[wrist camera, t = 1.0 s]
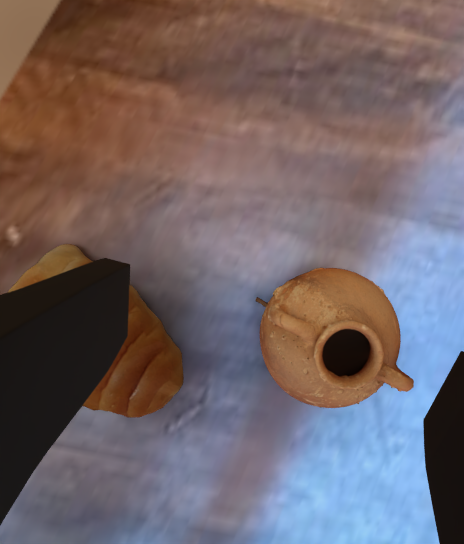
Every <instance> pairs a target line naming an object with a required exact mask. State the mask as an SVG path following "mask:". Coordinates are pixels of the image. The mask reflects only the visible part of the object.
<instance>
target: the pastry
mask: <svg viewBox="0 0 464 544" xmlns="http://www.w3.org/2000/svg"><path fill="white" fill-rule="evenodd" d="M90 262H93V261H92V260H90V259H89V258H87V257H86V256H85V255H84V254H83V253H82V252H81V251H80V249H79V248H78V247H76V246H75V245H71V244H64V245H60V246H58V247H56V248H55V249H53V250H51V251H50V252H48V253H47V254H45V255H44V256H43V257H42V258H41V259H40V261H39V262H38V263H37V264H36V265H35V266H33V267H31V268H30V269H29V270H28V271H26V272H25V273H24V274H23V275H22V277H21V278H20V279H19V280H18V281H17V282H16V283H15V284H14V286H13V287H12V288H11V289H10V290H9V292H11V291H14V290H17V289H20V288H23V287H26V286H28V285H31V284H34V283H36V282H39V281H42V280H44V279H47V278H50V277H53V276H55V275H58V274H61V273H63V272H66V271H68V270H71V269H74V268H77V267H79V266H82V265H85V264H88V263H90ZM182 384H183V367H182V353H181V351H180V349H179V348H178V347H177V346H176V345H175V344H174V342H173V341H172V339H171V338H170V336H169V335H167V333H166V331H165V329H164V327H163V325H162V322H161V320H160V319H158V318H157V316H156V315H155V314H154V313H153V312H152V311H151V310H150V309H149V308H148V307H147V305H146V303H145V302H144V301H143V300H142V299H141V297H140V296H139V294H138V292H137V291H136V290H135V289H134V288H133V287H132V286H131V285H129V311H128V336H127V338H126V340H125V342H124V344H123V345H122V347H121V349H120V351H119V353H118V355H117V356H116V358H115V360H114V362H113V363H112V365H111V367H110V368H109V370H108V372H107V373H106V375H105V376H104V377H103V379H102V380H101V381H100V383H99V384H98V385H97V387H96V388H95V389H94V391H93V392H92V393H91V395H90V396H89V397H88V399H87V400H86V401H85V403H84V404H83V405H82V406H85V407H87V408H89V409H92V410H104V411H110V412H113V413H116V414H121V415H124V416H126V417H142V416H144V415H147V414H150V413H153V412H155V411H157V410H159V409H161V408H163V407H164V406H165V405H166V404H167V403H168V402H169V401H170V400H171V399H172V397H173V396H174V395H175V394H176V393H177V392H178V391H179V390H180V388H181V386H182Z"/></svg>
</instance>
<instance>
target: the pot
mask: <svg viewBox="0 0 464 544" xmlns="http://www.w3.org/2000/svg"><path fill="white" fill-rule="evenodd" d="M256 302H259V303H261V304H262V305H263V306H265V307H266V309H265V311H264V314H263V315H262V320H261V325H260V345H261V350H262V354H263V358H264V361H265V364H266V366H267V368H268V370H269V372H270V374H271V376H272V377H273V379H274V380H275V381H276V382H277V384H278V385H279V386H280V387H281V388H282V389H283V390H284V391H285V392H287V393H288V394H289V395H290V396H292V397H294V398H295V399H297V400H299V401H301V402H304V403H306V404H310V405H313V406H318V407H325V408H339V407H346V406H350V405H353V404H356V403H357V404H359V402H360V401H363V400H364V399H366V398H368V397H369V396H371V395H372V394H373V393H375V392H377V390H378V389H379V388H380V387H381V386H383V383H387V384H389V385H391V388H393V387H394V388H397V389H398V391H406V392H407V391H409V390H411V389H412V388H413V383H414V381H413V379H412V378H410V377H409V376H408V375H406V374H405V373H403V372H402V371H401V370H400V369H399V368H398V367H397V365H396V361H397V358H398V354H399V349H400V342H401V341H400V328H399V323H398V319H397V316H396V313H395V311H394V308H393V306H392V305H391V303H390V301H389V300H388V298H387V297H386V295H385V294H384V291H383V290H382V289H380V287H379V286H377V285H375V284H374V283H373V282H372V281H370V280H368V279H367V278H365V277H363V276H361V275H359V274H357V273H354V272H351V271H348V270H344V269H337V268H326V269H324V268H319V269H317V268H316V269H314V270H312V271H310V272H307V273H304V274H302V275H300V276H297V277H295V278H293V279H291V280H289V281H288V282H286V283H285V284H284V285H283V286H279V288H277V289H276V290H275V291H274V293H273V297H272V298H271V300H270V301H269V302H268V303H266V302H265V301H263V300H262V299H260V298H258V297H257V298H256Z"/></svg>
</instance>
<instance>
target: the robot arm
mask: <svg viewBox="0 0 464 544" xmlns="http://www.w3.org/2000/svg"><path fill="white" fill-rule="evenodd" d="M129 282H130V264H126V263H122V262H118V261H115V260H111V259H107V258H104V259H100V260H97V261H93V262H90V263H88V264H85V265H82V266H79V267H77V268H74V269H71V270H68V271H66V272H63V273H61V274H58V275H55V276H53V277H50V278H47V279H44V280H42V281H39V282H36V283H34V284H31V285H28V286H26V287H23V288H20V289H17V290H14V291H11V292H8V293H5V294H2V295H0V525H1V523H2V522H3V520H4V518H5V517H6V515H7V513H8V512H9V510H10V508H11V507H12V505H13V504H14V502H15V500H16V499H17V497H18V496H19V494H20V492H21V491H22V489H23V487H24V486H25V484H26V483H27V481H28V479H29V478H30V476H31V474H32V473H33V471H34V470H35V469H36V467H37V466H38V464H39V463H40V461H41V460H42V459H43V457H44V456H45V454H46V453H47V451H48V450H49V449H50V447H51V446H52V445H53V444H54V442H55V441H56V440H57V438H58V437H59V436H60V434H61V433H62V432H63V430H64V429H65V428H66V426H67V425H68V424H69V422H70V421H71V420H72V419H73V417H74V416H75V415H76V413H77V412H78V411H79V409H80V408H81V407H82V405H83V404H84V403H85V401H86V400H87V399H88V397H89V396H90V395H91V393H92V392H93V391H94V389H95V388H96V387H97V385H98V384H99V383H100V381H101V380H102V379H103V377H104V376H105V375H106V373H107V372H108V370H109V368H110V367H111V365H112V363H113V362H114V360H115V358H116V356H117V355H118V353H119V351H120V349H121V347H122V345H123V344H124V342H125V340H126V338H127V336H128V311H129ZM424 449H425V465H426V472H427V478H428V483H429V489H430V494H431V500H432V505H433V511H434V516H435V521H436V526H437V532H438V537H439V542H440V544H464V352H463V351H461V352H460V354H459V356H458V358H457V360H456V361H455V363H454V365H453V367H452V369H451V371H450V372H449V374H448V376H447V378H446V380H445V382H444V383H443V385H442V387H441V389H440V391H439V393H438V394H437V396H436V398H435V400H434V402H433V404H432V405H431V407H430V409H429V411H428V413H427V415H426V416H425V418H424Z"/></svg>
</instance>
